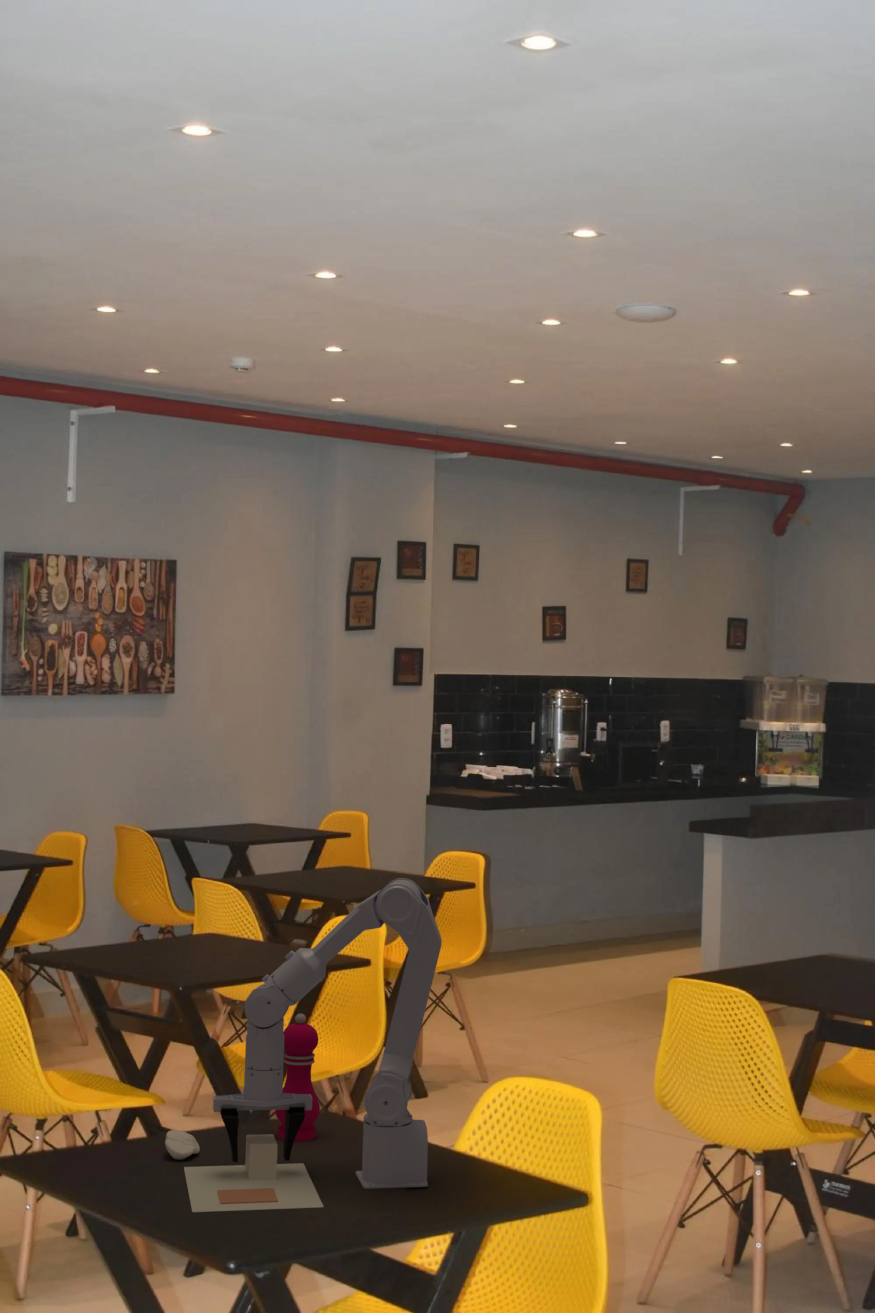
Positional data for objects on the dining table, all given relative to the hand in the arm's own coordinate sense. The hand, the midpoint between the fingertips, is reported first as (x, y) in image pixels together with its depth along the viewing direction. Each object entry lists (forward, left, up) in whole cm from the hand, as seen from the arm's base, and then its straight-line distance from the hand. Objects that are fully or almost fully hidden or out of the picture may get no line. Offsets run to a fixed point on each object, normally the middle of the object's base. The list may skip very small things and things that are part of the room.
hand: (260, 1159), depth 229 cm
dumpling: (+11, -11, -3) cm, 16 cm away
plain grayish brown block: (0, 0, -2) cm, 2 cm away
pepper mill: (-8, -21, -3) cm, 23 cm away
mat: (+2, +6, -2) cm, 7 cm away
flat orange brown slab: (+3, +11, -2) cm, 12 cm away
